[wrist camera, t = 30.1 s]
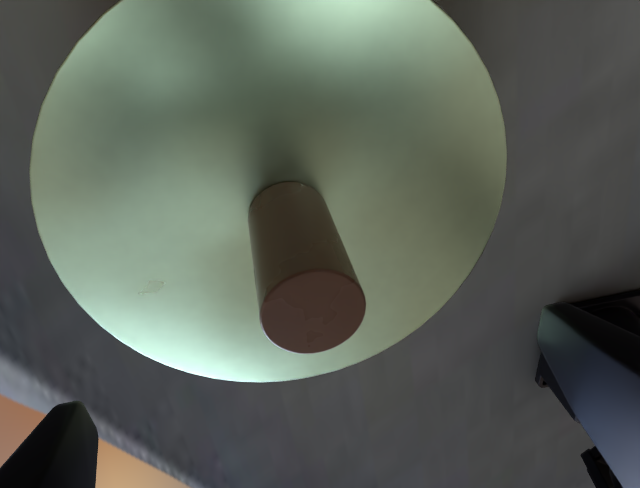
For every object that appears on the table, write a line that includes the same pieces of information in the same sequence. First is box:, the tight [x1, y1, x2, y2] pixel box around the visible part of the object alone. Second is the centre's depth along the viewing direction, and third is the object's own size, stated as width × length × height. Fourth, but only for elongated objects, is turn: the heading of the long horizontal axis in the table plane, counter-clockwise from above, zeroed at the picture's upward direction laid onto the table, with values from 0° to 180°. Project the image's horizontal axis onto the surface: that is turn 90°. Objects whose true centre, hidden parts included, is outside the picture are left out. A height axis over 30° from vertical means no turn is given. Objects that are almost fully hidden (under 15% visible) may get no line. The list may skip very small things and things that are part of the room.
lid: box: [29, 0, 507, 382], centre depth 13 cm, size 14×14×6 cm
